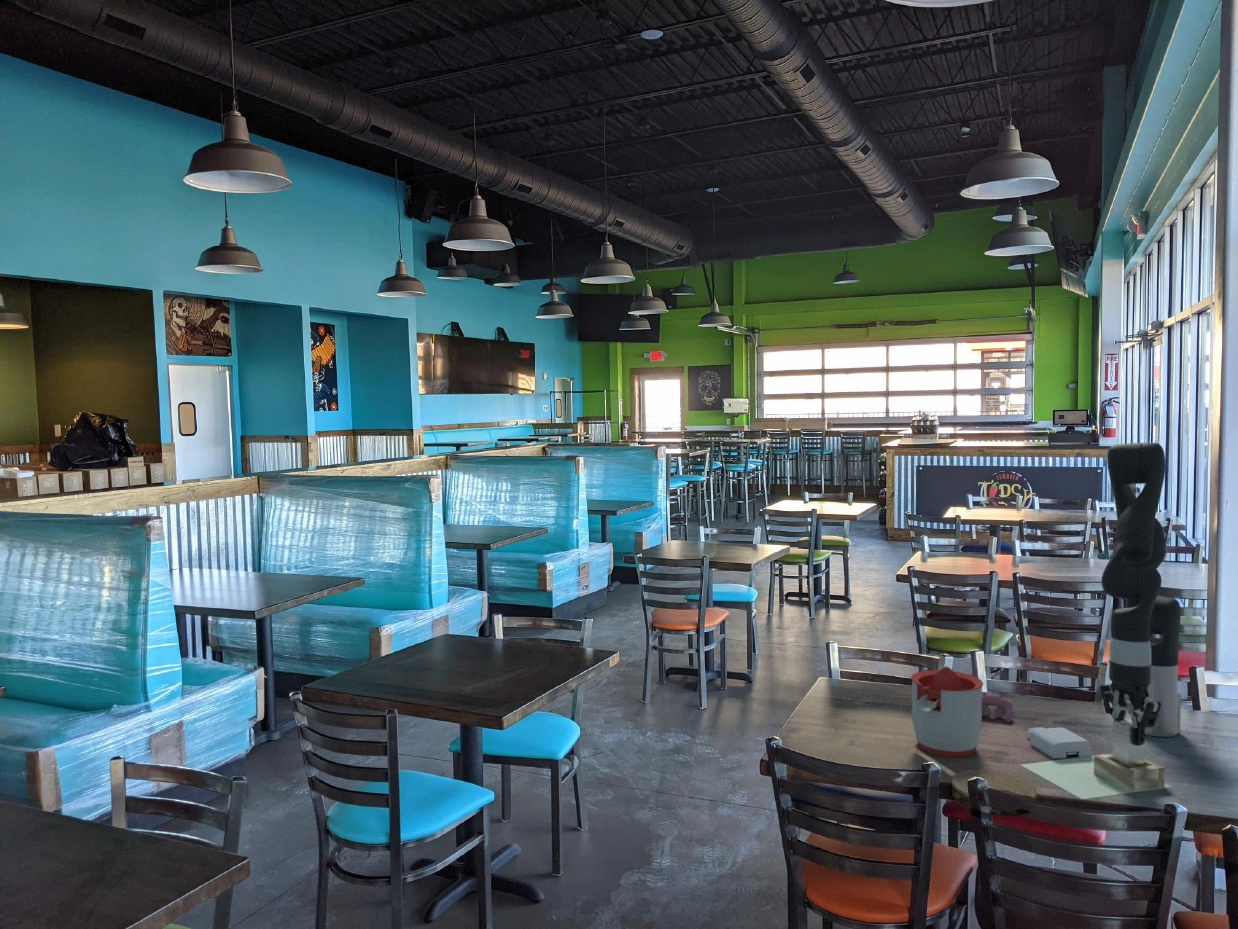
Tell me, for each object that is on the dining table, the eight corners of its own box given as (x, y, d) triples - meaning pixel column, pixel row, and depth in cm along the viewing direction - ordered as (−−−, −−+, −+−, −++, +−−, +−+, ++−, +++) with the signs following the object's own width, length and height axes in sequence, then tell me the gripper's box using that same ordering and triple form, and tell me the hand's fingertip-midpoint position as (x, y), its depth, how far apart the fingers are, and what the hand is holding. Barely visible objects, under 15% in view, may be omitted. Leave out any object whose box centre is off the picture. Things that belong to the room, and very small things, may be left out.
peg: (1128, 756, 183) (1129, 718, 182) (1144, 763, 179) (1144, 725, 178) (1112, 758, 182) (1113, 720, 181) (1128, 765, 178) (1128, 727, 177)
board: (1104, 758, 195) (1104, 754, 195) (1172, 791, 177) (1172, 786, 177) (1020, 769, 189) (1020, 764, 189) (1081, 804, 172) (1082, 799, 172)
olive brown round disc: (934, 792, 179) (934, 778, 179) (990, 778, 186) (990, 764, 186) (997, 824, 165) (997, 809, 165) (1055, 807, 171) (1055, 793, 171)
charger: (1050, 737, 209) (1091, 761, 194) (1014, 739, 208) (1053, 764, 193) (1050, 718, 208) (1091, 740, 194) (1014, 720, 207) (1053, 743, 192)
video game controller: (1012, 725, 221) (1014, 698, 223) (1011, 722, 217) (1012, 694, 220) (971, 719, 226) (973, 692, 228) (969, 716, 222) (971, 689, 225)
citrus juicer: (892, 751, 201) (892, 666, 200) (935, 734, 211) (935, 653, 210) (954, 772, 188) (954, 682, 187) (996, 753, 199) (996, 667, 198)
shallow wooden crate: (1128, 769, 186) (1129, 751, 186) (1164, 786, 177) (1164, 767, 177) (1093, 774, 184) (1094, 755, 184) (1128, 791, 175) (1128, 772, 175)
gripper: (1174, 667, 173) (1172, 751, 174) (1117, 650, 187) (1116, 727, 188) (1143, 670, 172) (1141, 755, 172) (1088, 652, 185) (1087, 731, 186)
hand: (1128, 740), depth 180 cm, fingers closed on peg, 4 cm apart
